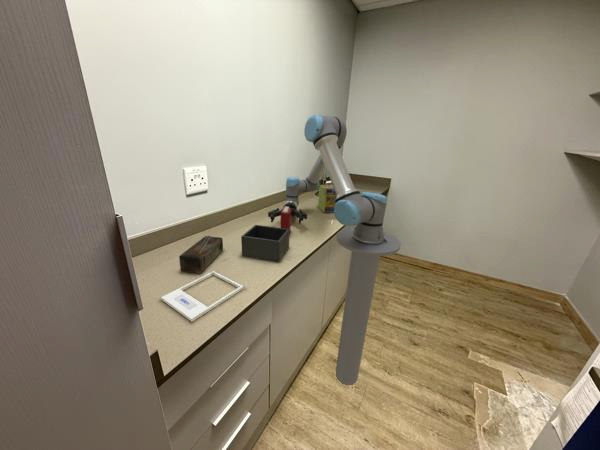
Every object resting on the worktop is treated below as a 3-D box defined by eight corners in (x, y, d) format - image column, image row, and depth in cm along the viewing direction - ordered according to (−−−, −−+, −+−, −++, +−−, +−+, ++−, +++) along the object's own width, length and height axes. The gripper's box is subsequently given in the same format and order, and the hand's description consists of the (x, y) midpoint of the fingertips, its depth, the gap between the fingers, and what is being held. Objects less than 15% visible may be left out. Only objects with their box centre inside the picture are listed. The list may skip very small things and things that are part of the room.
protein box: (324, 213, 154) (326, 189, 149) (317, 206, 168) (319, 184, 163) (339, 212, 156) (342, 189, 151) (332, 206, 171) (334, 184, 165)
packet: (290, 231, 124) (291, 206, 119) (288, 237, 116) (289, 211, 111) (282, 230, 124) (283, 206, 119) (280, 237, 116) (280, 211, 111)
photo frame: (161, 296, 70) (213, 270, 84) (161, 299, 70) (213, 273, 84) (191, 318, 62) (243, 285, 76) (191, 321, 62) (243, 288, 77)
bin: (288, 247, 106) (289, 229, 103) (279, 262, 93) (279, 241, 90) (255, 242, 109) (255, 224, 106) (242, 256, 96) (241, 236, 93)
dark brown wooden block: (224, 250, 101) (223, 235, 98) (201, 275, 83) (199, 258, 81) (206, 248, 102) (204, 233, 99) (179, 272, 84) (177, 255, 81)
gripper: (311, 215, 138) (310, 229, 118) (268, 213, 139) (260, 226, 119) (312, 203, 135) (311, 214, 115) (268, 200, 136) (260, 211, 116)
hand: (285, 220), depth 117 cm, fingers open, 13 cm apart
